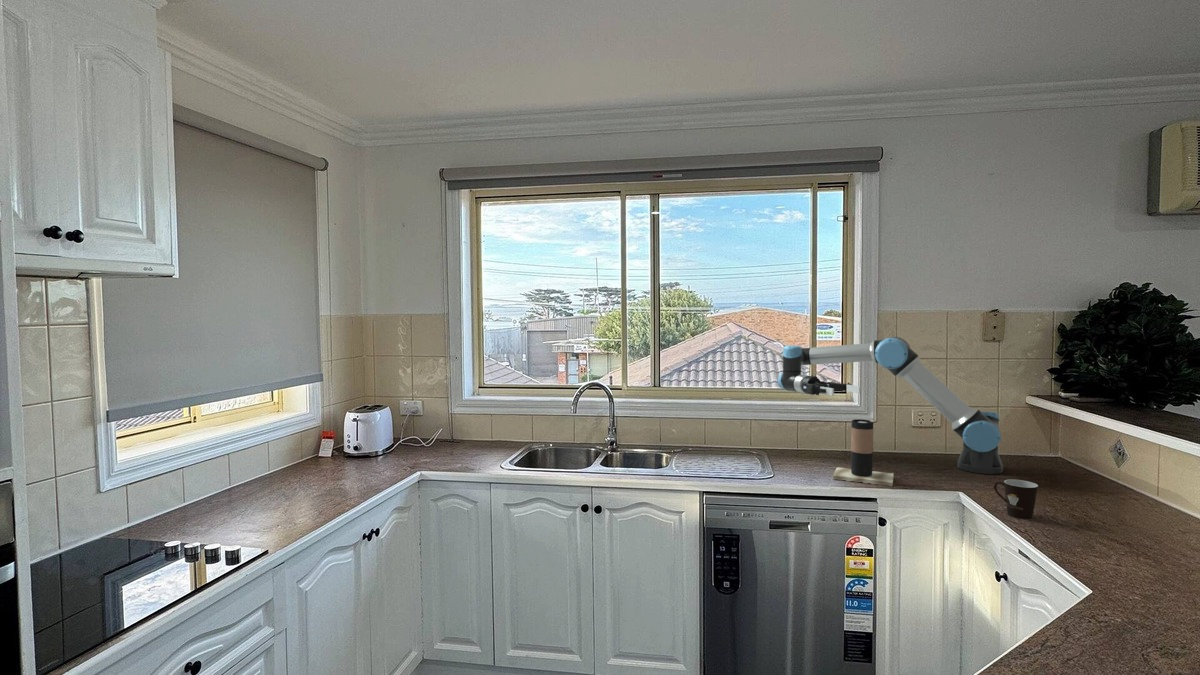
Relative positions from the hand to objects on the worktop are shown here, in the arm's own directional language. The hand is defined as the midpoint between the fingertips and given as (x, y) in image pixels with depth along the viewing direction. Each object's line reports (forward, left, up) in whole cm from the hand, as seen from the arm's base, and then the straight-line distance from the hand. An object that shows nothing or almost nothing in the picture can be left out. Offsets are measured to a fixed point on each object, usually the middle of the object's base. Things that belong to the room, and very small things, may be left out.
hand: (846, 391), depth 235 cm
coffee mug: (-52, +27, -32) cm, 67 cm away
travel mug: (-6, +5, -31) cm, 32 cm away
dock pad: (-7, +6, -32) cm, 33 cm away
